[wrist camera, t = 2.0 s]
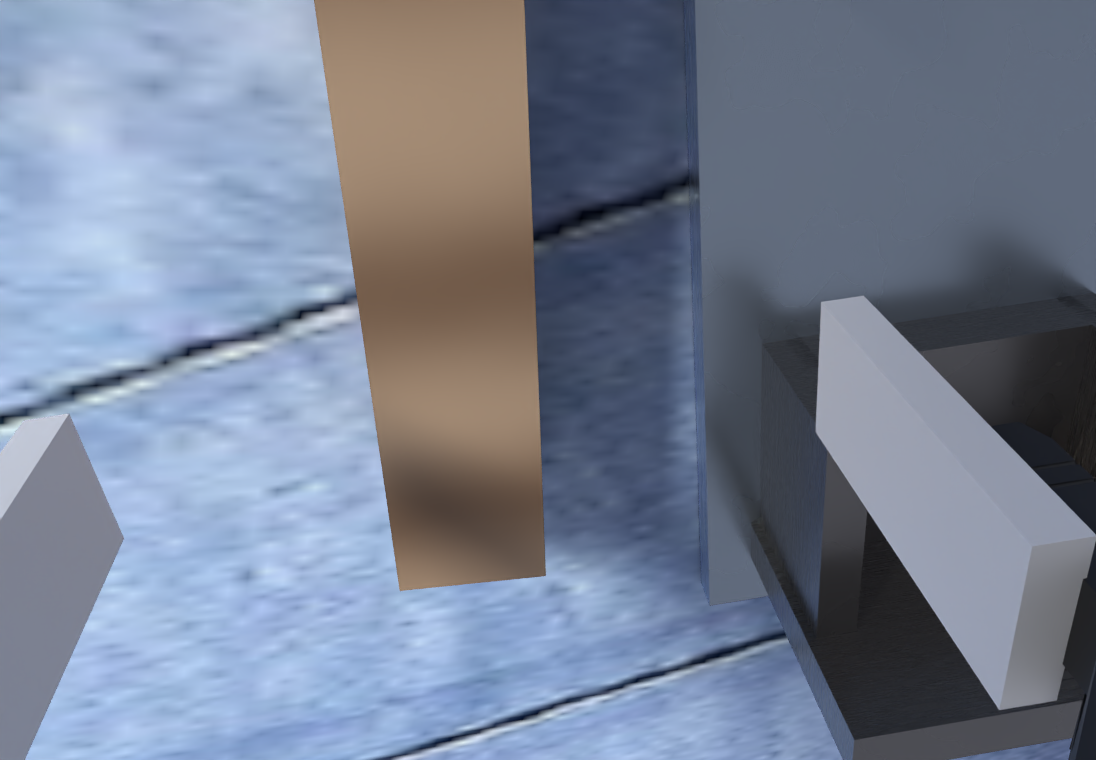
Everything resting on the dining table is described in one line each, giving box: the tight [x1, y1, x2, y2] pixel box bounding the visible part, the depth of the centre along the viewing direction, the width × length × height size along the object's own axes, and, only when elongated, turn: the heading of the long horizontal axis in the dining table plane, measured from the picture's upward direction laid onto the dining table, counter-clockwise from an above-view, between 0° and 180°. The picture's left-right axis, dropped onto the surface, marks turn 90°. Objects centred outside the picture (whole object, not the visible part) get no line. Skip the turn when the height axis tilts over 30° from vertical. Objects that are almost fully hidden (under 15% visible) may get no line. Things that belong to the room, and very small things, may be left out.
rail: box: [314, 0, 546, 591], centre depth 23 cm, size 18×4×6 cm, turn 2°
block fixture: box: [683, 0, 1096, 760], centre depth 22 cm, size 32×14×10 cm, turn 6°
